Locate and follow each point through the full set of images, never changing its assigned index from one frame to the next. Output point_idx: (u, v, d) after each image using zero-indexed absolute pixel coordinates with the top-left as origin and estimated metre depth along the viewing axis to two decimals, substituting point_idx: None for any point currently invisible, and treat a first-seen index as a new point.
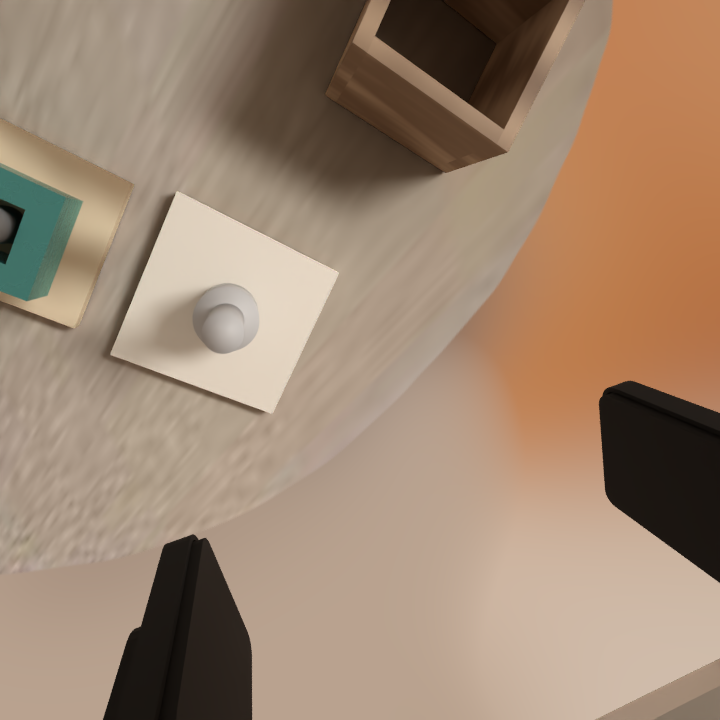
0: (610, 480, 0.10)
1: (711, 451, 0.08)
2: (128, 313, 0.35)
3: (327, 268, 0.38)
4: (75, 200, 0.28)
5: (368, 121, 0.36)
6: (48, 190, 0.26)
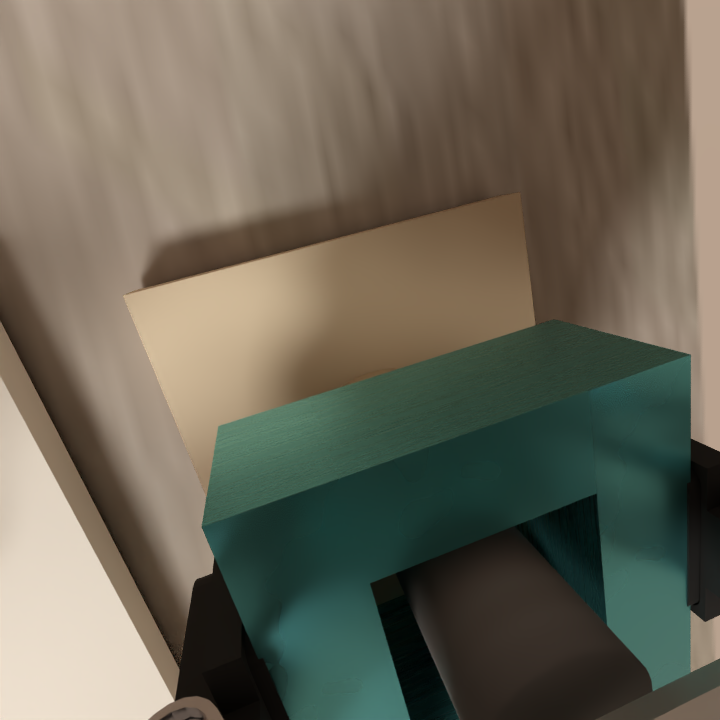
0: None
1: None
2: (31, 445, 0.10)
3: None
4: None
5: None
6: None
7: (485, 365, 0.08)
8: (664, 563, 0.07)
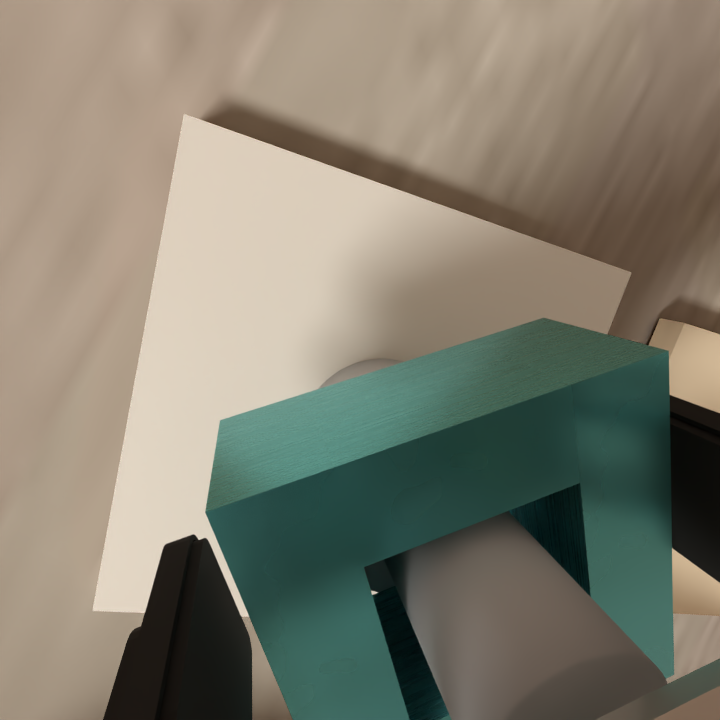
0: None
1: (711, 451, 0.08)
2: None
3: (132, 608, 0.13)
4: None
5: None
6: None
7: (475, 361, 0.08)
8: (647, 550, 0.08)
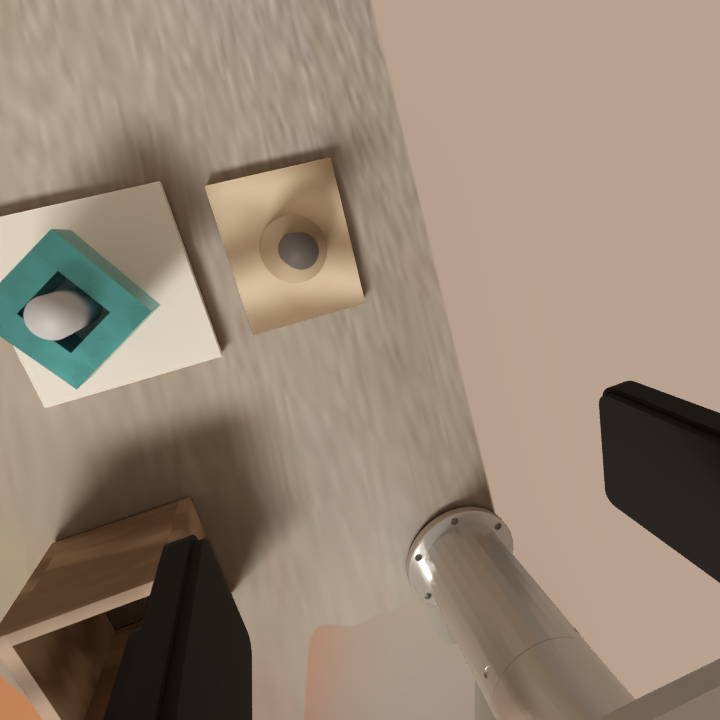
0: (610, 480, 0.10)
1: (711, 451, 0.08)
2: (175, 232, 0.34)
3: (58, 402, 0.35)
4: (85, 380, 0.30)
5: (145, 513, 0.39)
6: (86, 378, 0.28)
7: None
8: (99, 279, 0.27)
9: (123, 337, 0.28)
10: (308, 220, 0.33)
